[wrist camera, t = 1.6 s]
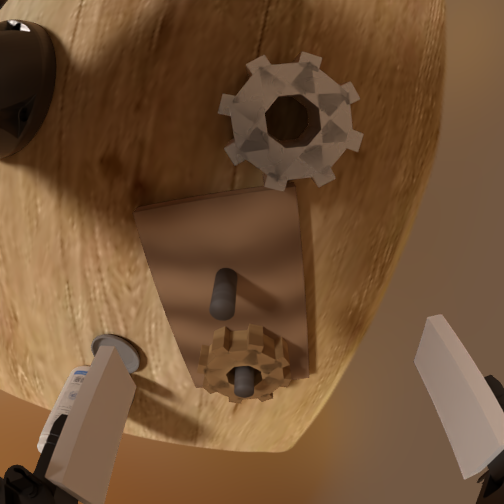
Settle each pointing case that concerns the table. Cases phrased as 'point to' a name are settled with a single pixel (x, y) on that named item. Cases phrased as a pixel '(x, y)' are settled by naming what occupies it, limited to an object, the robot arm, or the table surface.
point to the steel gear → (311, 139)
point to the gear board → (237, 246)
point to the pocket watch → (119, 350)
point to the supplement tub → (64, 401)
